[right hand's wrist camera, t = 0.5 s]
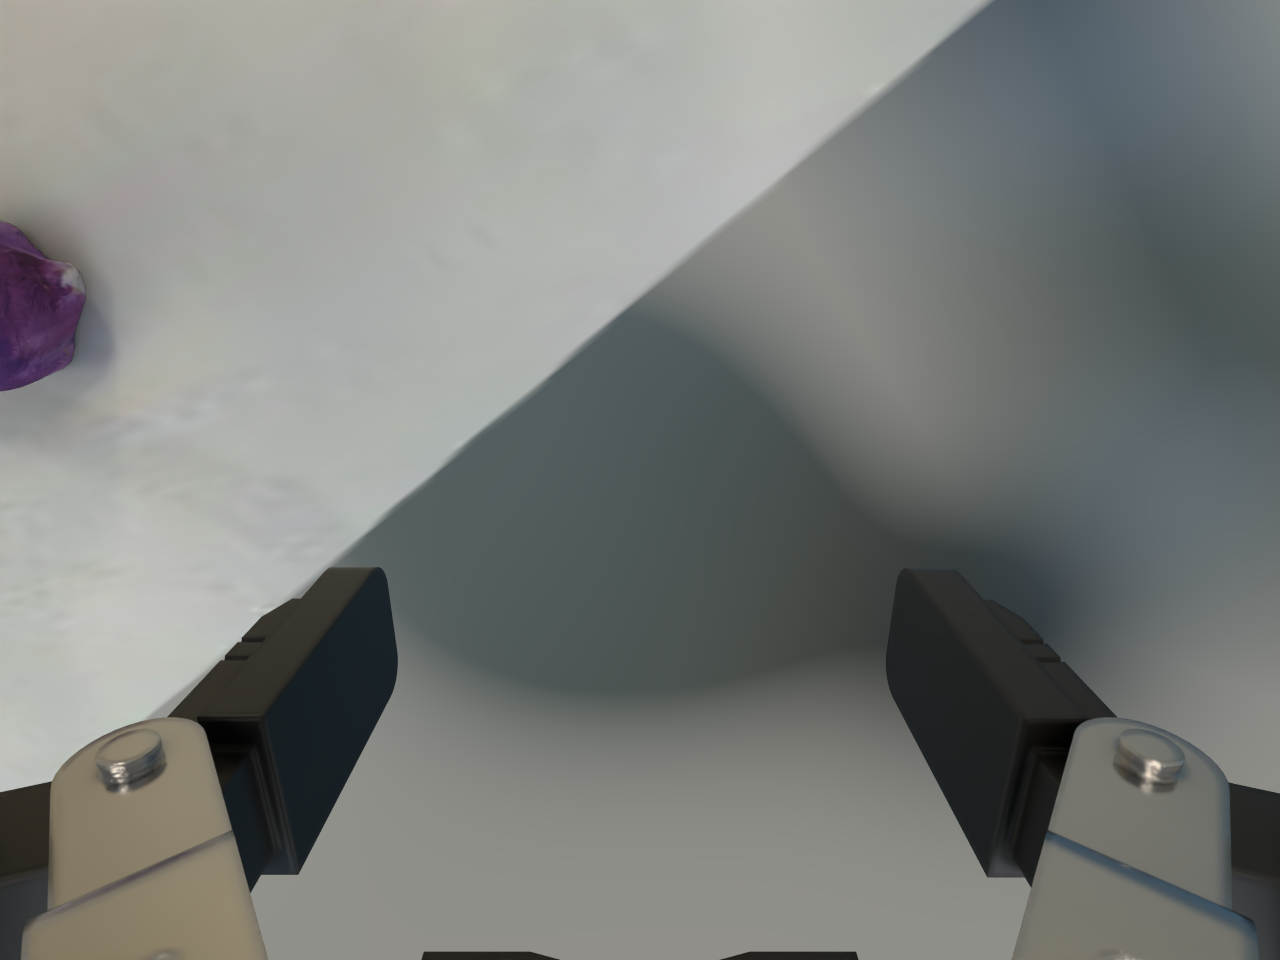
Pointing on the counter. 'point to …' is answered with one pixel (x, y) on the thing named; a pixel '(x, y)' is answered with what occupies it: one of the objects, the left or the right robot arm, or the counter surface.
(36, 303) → the figurine
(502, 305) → the counter surface
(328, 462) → the counter surface
